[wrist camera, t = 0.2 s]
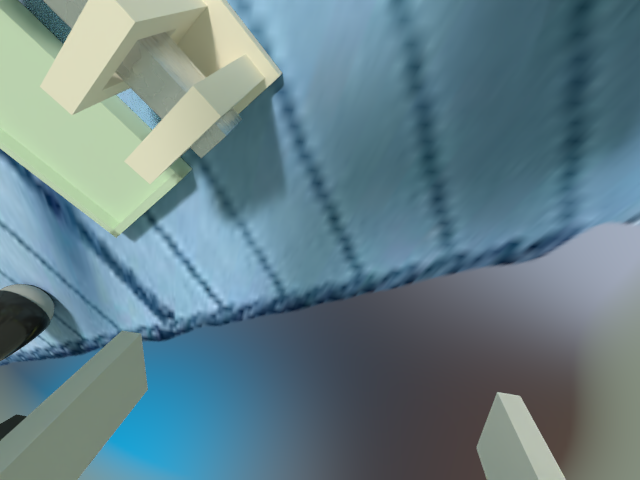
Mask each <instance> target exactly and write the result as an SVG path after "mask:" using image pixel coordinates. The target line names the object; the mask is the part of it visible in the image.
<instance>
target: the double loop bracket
mask: <svg viewBox="0 0 640 480" xmlns="http://www.w3.org/2000/svg"><path fill="white" fill-rule="evenodd" d="M163 32H166V33H167V34H168V35H169V36H170V37H171V38H172V40H173V41H174V42H175V43H176V44H177V45H178V46H179V48H180V49H181V50H182V51H183V52H184V53H185V54H186V56H187V57H188V58H189V59H190V60H191V61H192V62H193V63H194V65H195V66H196V67H197V68H198V69H199V70H200V71H201V73H202V74H203V75H204V76H205V77H206V78H205V79H203V80H201V81H200V82H198V83H197V84H195V85H193V86H192V87H191V88H190V90H189V91H188V92H187V93H186V94H185V95H184V96H183V97H182V98H181V99H180V100H179V102H178V103H177V104H176V105H175V106H174V107H173V108H172V109H171V110H170V111H169V113H168V114H167V115H166V116H165V117H164V118H163V119H162V120H161V121H160V122H159V124H158V125H157V126H156V127H155V128H154V129H153V130H152V131H151V132H150V133H149V135H148V136H147V137H146V138H145V139H144V140H143V141H142V142H141V143H140V144H139V146H138V147H137V148H136V149H135V150H134V151H133V152H132V153H131V154H130V155H129V156H128V158H127V159H126V160H125V161H124V162H125V163H127V164H128V165H129V166H130V167H131V168H132V169H133V170H134V171H136V172H137V173H138V174H139V175H140V176H141V177H142V178H143V179H145V180H146V181H147V182H148V183H149V184H151V183H152V182H153V181H154V180H155V179H156V178H158V177H159V176H160V175H161V174H162V173H163V172H164V171H165V170H166V169H167V168H169V167H170V166H171V165H172V164H173V163H174V162H175V161H176V160H177V159H178V158H180V157H181V156H182V155H183V154H184V153H185V152H186V151H187V150H188V149H189V148H190V146H191V145H192V144H194V143H195V142H196V141H197V140H198V139H199V138H200V137H201V136H202V135H203V134H204V133H205V132H206V131H207V130H208V129H209V128H210V127H211V126H212V125H213V124H215V123H216V122H217V121H218V120H219V119H220V118H221V117H222V116H223V115H225V114H226V113H227V112H228V111H229V110H230V109H231V108H233V109H234V110H235V111H236V112H237V113H238V114H239V113H240V112H241V111H242V110H243V109H244V108H246V107H247V106H248V105H249V104H250V103H251V102H252V101H253V100H254V99H255V98H256V97H257V96H259V95H260V94H261V93H262V92H263V91H264V90H265V89H266V88H267V87H268V86H269V85H271V84H272V83H273V82H274V81H275V80H276V79H277V78H278V77H279V76H280V75H281V74H282V72H281V71H280V70H279V68H278V67H277V66H276V64H275V63H274V62H273V60H272V59H271V58H270V57H269V55H268V54H267V53H266V51H265V50H264V49H263V47H262V46H261V45H260V44H259V42H258V41H257V40H256V38H255V37H254V36H253V34H252V33H251V32H250V31H249V29H248V28H247V27H246V25H245V24H244V23H243V21H242V20H241V19H240V18H239V16H238V15H237V14H236V12H235V11H234V10H233V8H232V7H231V6H230V5H229V3H228V2H227V1H226V0H88V1H87V3H86V5H85V7H84V8H83V10H82V12H81V14H80V16H79V17H78V19H77V21H76V23H75V25H74V26H73V28H72V30H71V32H70V34H69V35H68V37H67V39H66V41H65V42H64V44H63V46H62V48H61V50H60V51H59V53H58V55H57V57H56V59H55V60H54V62H53V64H52V66H51V67H50V69H49V71H48V73H47V75H46V76H45V78H44V80H43V82H42V84H41V85H40V87H41V88H42V89H43V90H44V91H45V92H46V93H47V94H49V95H50V96H51V97H52V98H53V99H54V100H55V101H57V102H58V103H59V104H60V105H61V106H62V107H63V108H64V109H66V110H67V111H68V112H69V113H70V114H71V115H74V114H76V113H78V112H80V111H82V110H84V109H86V108H89V107H91V106H93V105H95V104H97V103H99V102H101V101H104V100H106V99H108V98H110V97H112V96H114V95H116V94H118V93H121V92H123V91H125V90H127V89H129V88H130V87H129V86H128V85H127V84H126V83H125V82H124V81H123V80H122V79H121V78H120V77H119V76H118V75H117V74H116V73H115V71H116V70H117V68H118V67H119V66H120V64H121V63H122V61H123V60H124V59H125V57H126V56H127V54H128V53H129V52H130V50H131V49H132V47H133V46H134V44H135V43H136V42H137V40H139V39H142V38H146V37H149V36H153V35H156V34H159V33H163Z"/></svg>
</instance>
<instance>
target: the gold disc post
mask: <svg viewBox="0 0 640 480" xmlns="http://www.w3.org/2000/svg"><path fill="white" fill-rule="evenodd" d="M43 1H44V2H45V3H46V4H47V5H48V6H49V7H50V8H51V9H52V10H53V11H54V12H55V13H56V14H57V15H58V16H59V17H60V18H61V19H62V20H63V21H64V22H65V23H66V24H67V25H68V26H69V27H70V28H71V29H72V28H73V26H74V25H75V23H76V21H77V19H78V17H79V16H80V14H81V12H82V10H83V8H84V7H85V5H86V3H87V1H88V0H43ZM115 73H116V74H117V75H118V76H119V77H120V78H121V79H122V80H123V81H124V82H125V83H126V84H127V85H128V86H129V87H130V88H131V89H132V90H133V91H134V92H135V93H136V94H137V95H138V96H139V97H140V98H141V99H142V100H143V101H144V102H145V103H146V104H147V105H148V106H149V107H150V108H151V109H152V110H153V111H154V112H155V113H156V114H157V115H158V116H159V117H160V118H161V119H163V118H164V117H165V116H166V115H167V114H168V113H169V111H170V110H171V109H172V108H173V107H174V106H175V105H176V104H177V103H178V102H179V100H180V99H181V98H182V97H183V96H184V95H185V94H186V93H187V92H188V91H189V90H190V88H191V87H192V86H193V85H195V84H197V83H198V82H200V81H201V80H203V79H205V78H206V77H205V76H204V75H203V74H202V73H201V71H200V70H199V69H198V68H197V67H196V66H195V65H194V63H193V62H192V61H191V60H190V59H189V58H188V57H187V56H186V54H185V53H184V52H183V51H182V50H181V49H180V48H179V46H178V45H177V44H176V43H175V42H174V41H173V40H172V38H171V37H170V36H169V35H168V34H167V33H166V32H163V33H159V34H156V35H153V36H149V37H146V38H142V39H139V40H137V42H136V43H135V44H134V46H133V47H132V49H131V50H130V52H129V53H128V54H127V56H126V57H125V59H124V60H123V61H122V63H121V64H120V66H119V67H118V68H117V70H116V71H115ZM241 120H242V118H241V117H240V116H239V115H238V113H237V112H236V111H235V110H234V109H233V108H231V109H230V110H229V111H228V112H227V113H226V114H225V115H223V116H222V117H221V118H220V119H219V120H218V121H217V122H216V123H215V124H213V125H212V126H211V127H210V128H209V129H208V130H207V131H206V132H205V133H204V134H203V135H202V136H201V137H200V138H199V139H198V140H197V141H196V142H195V143H194V144H192V145H191V146H190V148H191V149H192V150H193V151H194V152H195V153H196V154H197V155H198V156H199V157H200V158H202V157H203V156H204V155H206V154H207V153H208V152H209V151H210V150H211V149H212V148H213V147H214V146H216V145H217V144H218V143H219V142H220V141H221V140H222V139H223V138H225V137H226V136H227V135H228V134H229V133H230V132H231V131H232V130H233V128H234V127H235V126H236V125H237V124H238V123H239V122H240V121H241Z"/></svg>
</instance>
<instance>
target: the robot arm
mask: <svg viewBox="0 0 640 480" xmlns="http://www.w3.org/2000/svg"><path fill="white" fill-rule="evenodd" d="M147 390H148V388H147V380H146V372H145V363H144V354H143V346H142V337H141V334H139V333H133V332H127V331H121V332H120V333H119V334H118V335H117V336H116V337H115V338H114V339H112V340H111V341H110V342H109V343H108V344H107V345H106V346H105V347H104V348H102V349H101V350H100V351H99V352H98V353H97V354H96V355H95V356H94V357H92V358H91V359H90V360H89V361H88V362H87V363H86V364H85V365H84V366H83V367H82V368H80V369H79V370H78V371H77V372H76V373H75V374H74V375H73V376H71V377H70V378H69V379H68V380H67V381H66V382H65V383H64V384H63V385H62V386H60V387H59V388H58V389H57V390H56V391H55V392H54V393H53V394H52V395H50V396H49V397H48V398H47V399H46V400H45V401H44V402H43V403H42V404H40V405H39V406H38V407H37V408H36V409H35V410H34V411H33V412H32V413H31V414H30V415H28V416H27V417H26V416H21V415H15V416H13V417H12V418H10V419H8V420H6V421H5V422H3V423H1V424H0V480H77V479H78V478H79V477H80V475H81V474H82V473H83V472H84V470H85V469H86V468H87V467H88V465H89V464H90V463H91V461H92V460H93V459H94V458H95V456H96V455H97V454H98V452H99V451H100V450H101V449H102V447H103V446H104V445H105V443H106V442H107V441H108V440H109V438H110V437H111V436H112V435H113V433H114V432H115V431H116V429H117V428H118V427H119V425H120V424H121V423H122V422H123V420H124V419H125V418H126V417H127V415H128V414H129V413H130V411H131V410H132V409H133V408H134V406H135V405H136V404H137V403H138V401H139V400H140V399H141V397H142V396H143V395H144V393H145V392H146V391H147ZM477 451H478V454H479V457H480V460H481V463H482V466H483V469H484V472H485V475H486V478H487V480H566V479H565V477H564V475H563V474H562V472H561V470H560V468H559V466H558V465H557V463H556V461H555V459H554V457H553V455H552V454H551V452H550V450H549V448H548V446H547V444H546V443H545V441H544V439H543V437H542V435H541V433H540V432H539V430H538V428H537V426H536V424H535V423H534V421H533V419H532V417H531V415H530V413H529V411H528V410H527V408H526V406H525V404H524V402H523V400H522V399H521V397H520V396H517V395H511V394H505V393H499V392H497V394H496V397H495V400H494V402H493V405H492V408H491V410H490V413H489V416H488V419H487V421H486V424H485V427H484V429H483V432H482V434H481V437H480V440H479V442H478V445H477Z"/></svg>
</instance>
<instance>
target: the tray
mask: <svg viewBox="0 0 640 480" xmlns="http://www.w3.org/2000/svg"><path fill="white" fill-rule="evenodd" d="M62 46H63V43H62V42H61V41H60V40H59V39H58V38H57V37H56V36H55V35H54V34H52V33H51V32H50V31H49V30H48V29H47V28H46V27H45V26H44V25H43V24H42V23H41V22H40V21H39V20H38V19H37V18H36V17H35V16H34V15H33V14H32V13H31V12H30V11H29V10H28V9H27V8H26V7H25V6H24V5H23V4H22V3H20V2H19V1H18V0H0V149H2V150H3V151H4V152H6V153H7V154H8V155H9V156H11V157H12V158H13V159H15V160H16V161H17V162H19V163H20V164H21V165H22V166H24V167H25V168H26V169H28V170H29V171H30V172H32V173H33V174H34V175H35V176H37V177H38V178H39V179H41V180H42V181H43V182H45V183H46V184H47V185H48V186H50V187H51V188H52V189H54V190H55V191H56V192H58V193H59V194H60V195H61V196H63V197H64V198H65V199H67V200H68V201H69V202H71V203H72V204H73V205H74V206H76V207H77V208H78V209H80V210H81V211H82V212H83V213H85V214H86V215H87V216H89V217H90V218H91V219H93V220H94V221H95V222H96V223H98V224H99V225H100V226H102V227H103V228H104V229H106V230H107V231H108V232H109V233H111V234H112V235H113V236H115V237H117V236H119V235H120V234H121V233H122V232H123V231H124V230H125V229H127V228H128V227H129V226H130V225H131V224H132V223H133V222H134V221H136V220H137V219H138V218H139V217H140V216H141V215H142V214H143V213H145V212H146V211H147V210H148V209H149V208H150V207H151V206H152V205H154V204H155V203H156V202H157V201H158V200H159V199H160V198H162V197H163V196H164V195H165V194H166V193H167V192H168V191H169V190H171V189H172V188H173V187H174V186H175V185H176V184H177V183H178V182H180V181H181V180H182V179H183V178H184V177H185V176H186V175H187V174H188V173H189V172H190V171H191V170H192V168H191V167H190V166H189V165H188V164H187V163H186V162H185V161H184V160H183V159H182V158H181V157H180V158H178V159H177V160H176V161H175V162H174V163H173V164H172V165H171V166H170V167H169V168H167V169H166V170H165V171H164V172H163V173H162V174H161V175H160V176H159V177H158V178H156V179H155V180H154V181H153V182H152V183H151V184H149V183H148V182H147V181H146V180H145V179H143V178H142V177H141V176H140V175H139V174H138V173H137V172H136V171H134V170H133V169H132V168H131V167H130V166H129V165H128V164H127V163H125V162H124V161H125V160H126V159H127V158H128V156H129V155H130V154H131V153H132V152H133V151H134V150H135V149H136V148H137V147H138V146H139V144H140V143H141V142H142V141H143V140H144V139H145V138H146V137H147V136H148V135H149V133H150V132H151V131H152V129H151V128H150V127H149V126H148V125H146V124H145V123H144V122H143V121H142V120H141V119H140V118H139V117H138V116H137V115H136V114H135V113H134V112H133V111H132V110H131V109H130V108H129V107H128V106H127V105H126V104H125V103H124V102H123V101H122V100H121V99H120V98H119V97H118V96H117V95H114V96H112V97H110V98H108V99H106V100H104V101H101V102H99V103H97V104H95V105H93V106H91V107H89V108H86V109H84V110H82V111H80V112H78V113H76V114H74V115H71V114H70V113H69V112H68V111H67V110H66V109H64V108H63V107H62V106H61V105H60V104H59V103H58V102H57V101H55V100H54V99H53V98H52V97H51V96H50V95H49V94H47V93H46V92H45V91H44V90H43V89H42V88H41V87H40V85H41V84H42V82H43V80H44V78H45V76H46V75H47V73H48V71H49V69H50V67H51V66H52V64H53V62H54V60H55V59H56V57H57V55H58V53H59V51H60V50H61V48H62Z"/></svg>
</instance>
